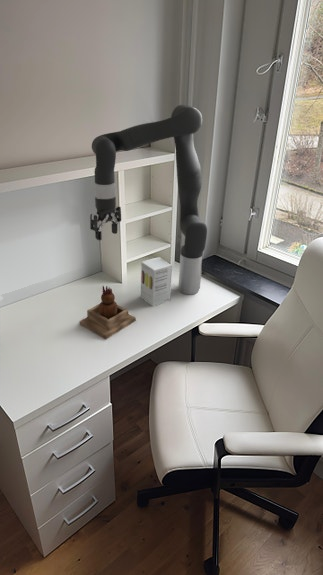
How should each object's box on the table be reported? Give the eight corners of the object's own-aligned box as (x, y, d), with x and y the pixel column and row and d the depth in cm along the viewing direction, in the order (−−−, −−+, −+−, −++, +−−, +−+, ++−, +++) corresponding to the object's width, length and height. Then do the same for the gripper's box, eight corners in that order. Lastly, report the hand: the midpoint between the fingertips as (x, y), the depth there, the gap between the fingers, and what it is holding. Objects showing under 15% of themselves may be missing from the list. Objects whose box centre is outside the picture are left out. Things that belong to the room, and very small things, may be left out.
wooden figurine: (100, 323, 153) (99, 289, 146) (98, 315, 158) (97, 281, 151) (118, 321, 155) (118, 287, 148) (115, 313, 160) (115, 279, 152)
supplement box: (139, 296, 175) (140, 261, 167) (157, 290, 180) (158, 256, 172) (152, 306, 169) (154, 270, 160) (170, 300, 173) (172, 264, 165)
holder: (109, 307, 166) (109, 296, 164) (135, 320, 159) (135, 308, 156) (79, 324, 155) (79, 312, 153) (106, 339, 148) (105, 326, 145)
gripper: (111, 188, 156) (112, 228, 164) (83, 197, 146) (86, 239, 154) (126, 192, 152) (126, 233, 160) (98, 201, 142) (100, 244, 150)
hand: (106, 236), depth 157 cm, fingers open, 8 cm apart
